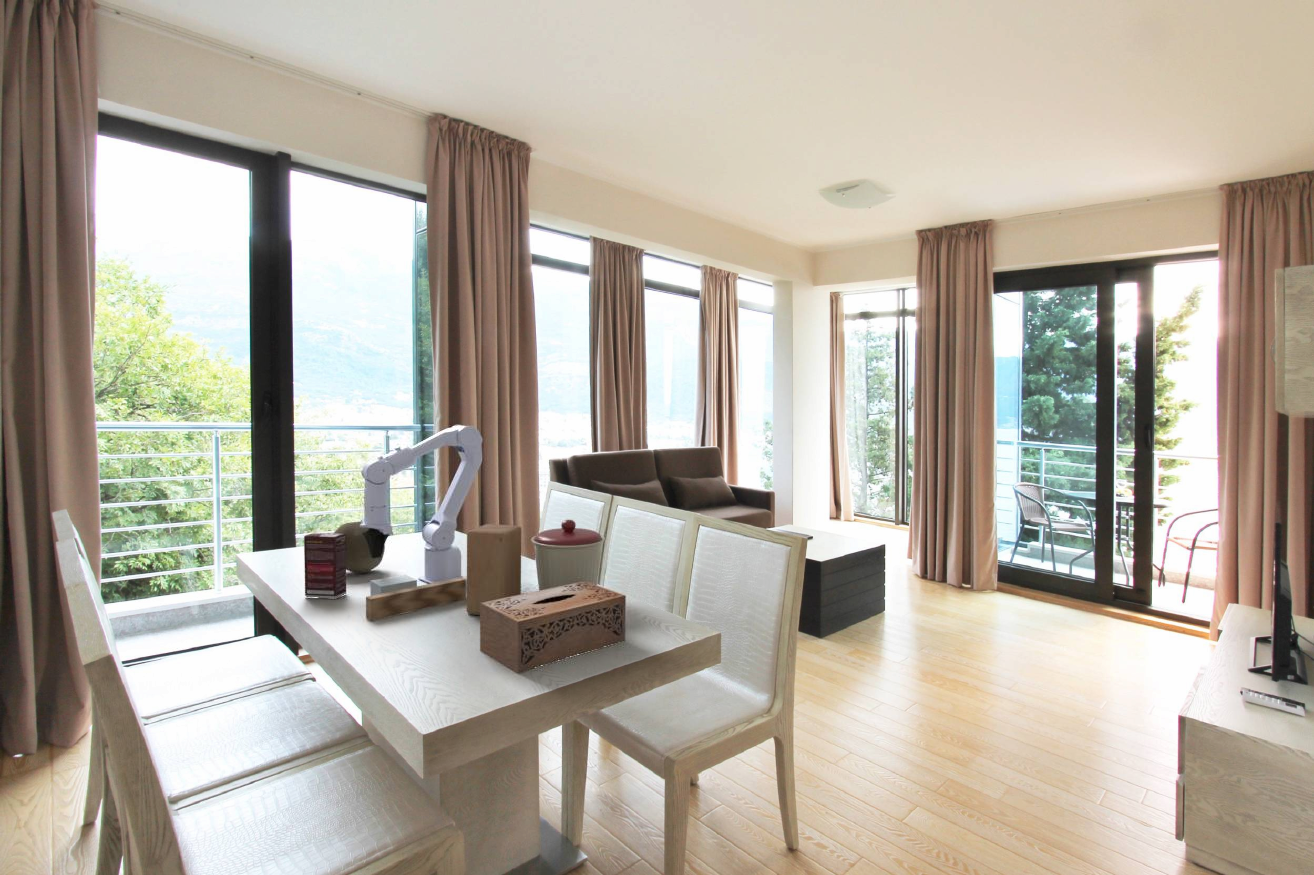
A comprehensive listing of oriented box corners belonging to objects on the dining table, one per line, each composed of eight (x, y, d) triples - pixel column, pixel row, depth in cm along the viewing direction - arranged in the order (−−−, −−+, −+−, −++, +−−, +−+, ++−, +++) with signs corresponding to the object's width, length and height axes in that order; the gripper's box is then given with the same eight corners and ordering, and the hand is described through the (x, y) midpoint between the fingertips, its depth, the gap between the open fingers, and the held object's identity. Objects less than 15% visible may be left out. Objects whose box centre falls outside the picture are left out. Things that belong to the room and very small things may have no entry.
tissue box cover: (584, 624, 146) (585, 580, 146) (625, 642, 136) (625, 595, 135) (480, 652, 129) (480, 602, 128) (517, 675, 118) (517, 621, 118)
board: (460, 596, 164) (460, 577, 164) (465, 598, 163) (466, 579, 162) (366, 618, 147) (365, 596, 147) (370, 621, 145) (370, 599, 145)
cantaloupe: (376, 564, 195) (375, 515, 195) (390, 574, 184) (390, 522, 184) (325, 571, 186) (324, 520, 186) (337, 582, 175) (337, 528, 175)
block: (405, 591, 169) (405, 574, 169) (416, 597, 164) (416, 579, 164) (370, 598, 163) (370, 580, 163) (381, 604, 158) (381, 586, 158)
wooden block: (504, 618, 148) (505, 532, 147) (464, 615, 150) (465, 530, 149) (522, 605, 158) (522, 525, 157) (484, 602, 160) (485, 523, 159)
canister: (516, 602, 161) (517, 518, 160) (574, 588, 173) (575, 511, 172) (559, 620, 148) (560, 529, 147) (618, 604, 160) (620, 520, 159)
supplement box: (347, 594, 165) (347, 533, 164) (336, 600, 160) (335, 536, 159) (315, 592, 166) (315, 531, 165) (303, 598, 161) (303, 535, 160)
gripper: (349, 504, 171) (349, 554, 172) (372, 511, 161) (373, 564, 162) (375, 501, 176) (375, 550, 177) (400, 508, 167) (400, 560, 167)
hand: (376, 557), depth 170 cm, fingers closed
